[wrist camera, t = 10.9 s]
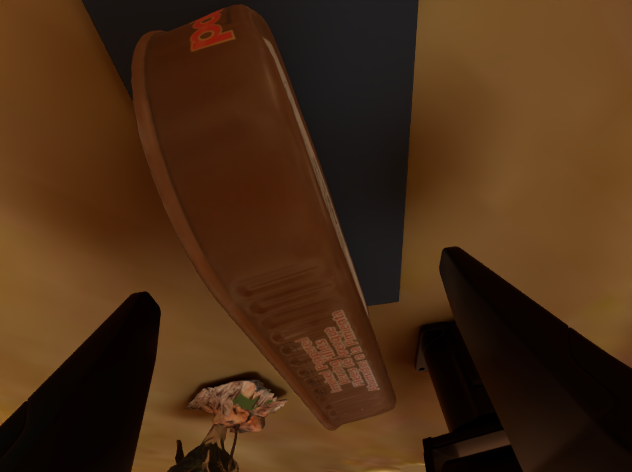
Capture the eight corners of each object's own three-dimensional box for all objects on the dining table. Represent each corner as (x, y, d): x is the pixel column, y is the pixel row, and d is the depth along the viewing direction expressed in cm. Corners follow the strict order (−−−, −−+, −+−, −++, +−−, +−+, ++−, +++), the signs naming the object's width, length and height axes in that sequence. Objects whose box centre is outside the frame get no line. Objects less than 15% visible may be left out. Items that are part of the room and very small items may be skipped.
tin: (176, 9, 10) (-5, 128, 4) (274, -31, 9) (258, 26, 3) (319, 296, 20) (336, 460, 14) (370, 283, 19) (412, 447, 13)
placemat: (397, 295, 21) (398, 301, 21) (244, 317, 21) (244, 323, 21) (426, -220, 8) (434, -229, 7) (19, -143, 8) (7, -146, 8)
